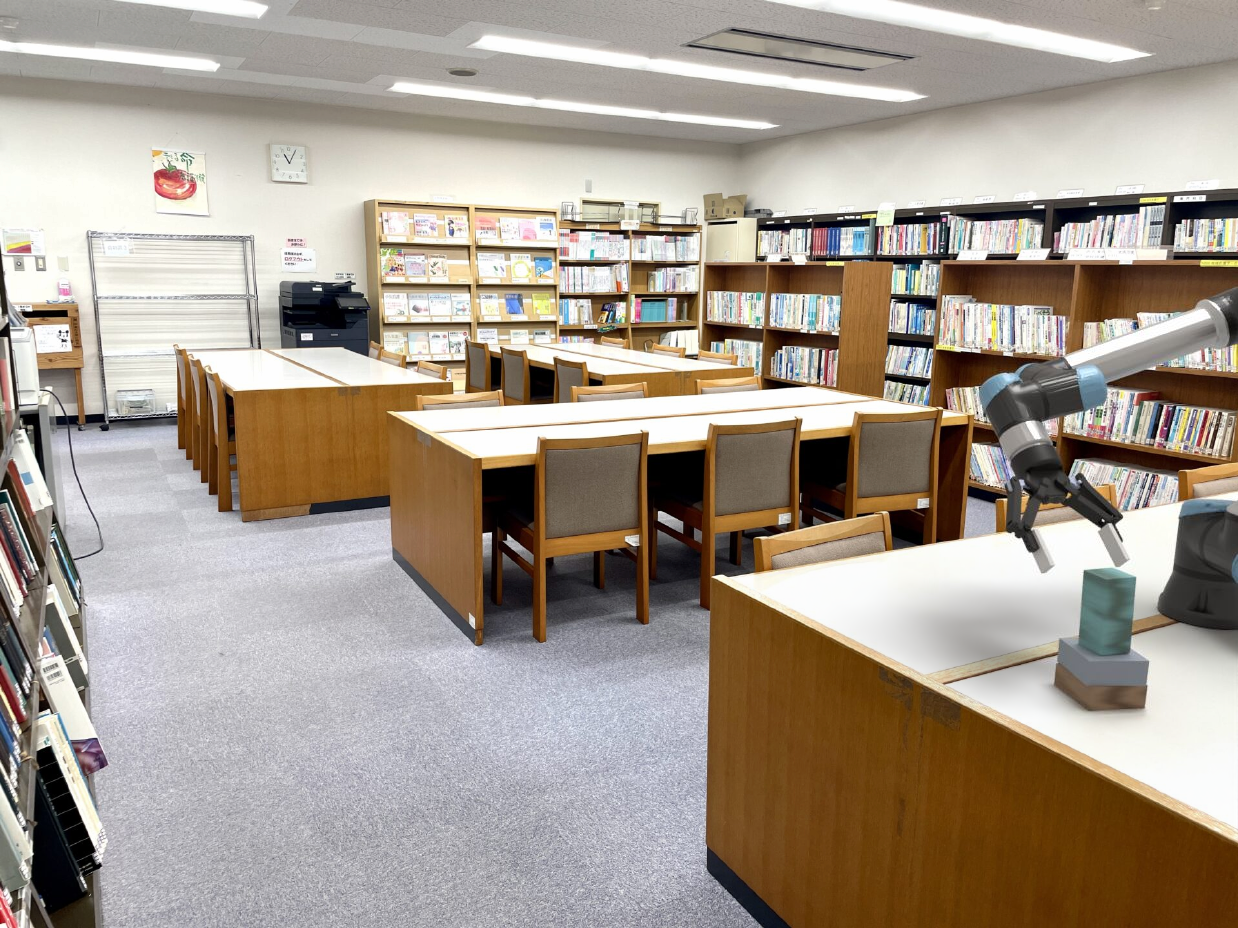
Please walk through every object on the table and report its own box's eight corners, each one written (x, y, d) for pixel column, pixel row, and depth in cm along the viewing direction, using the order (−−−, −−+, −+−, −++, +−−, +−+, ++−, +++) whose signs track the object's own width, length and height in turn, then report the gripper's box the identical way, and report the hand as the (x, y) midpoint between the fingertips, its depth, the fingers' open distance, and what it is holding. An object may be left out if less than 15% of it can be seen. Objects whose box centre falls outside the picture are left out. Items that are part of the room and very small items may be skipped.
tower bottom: (1106, 683, 142) (1108, 660, 142) (1144, 709, 134) (1147, 685, 133) (1053, 686, 142) (1056, 662, 141) (1088, 712, 133) (1091, 687, 132)
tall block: (1106, 640, 139) (1112, 567, 137) (1130, 652, 134) (1136, 576, 132) (1078, 643, 138) (1083, 569, 136) (1100, 655, 134) (1106, 579, 131)
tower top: (1112, 661, 142) (1115, 637, 141) (1146, 685, 133) (1149, 660, 132) (1056, 661, 141) (1059, 637, 141) (1086, 685, 133) (1089, 661, 132)
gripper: (1081, 463, 155) (1138, 571, 144) (955, 469, 150) (1003, 582, 139) (1107, 438, 149) (1168, 549, 138) (976, 444, 144) (1029, 560, 133)
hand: (1086, 566), depth 138 cm, fingers open, 13 cm apart
